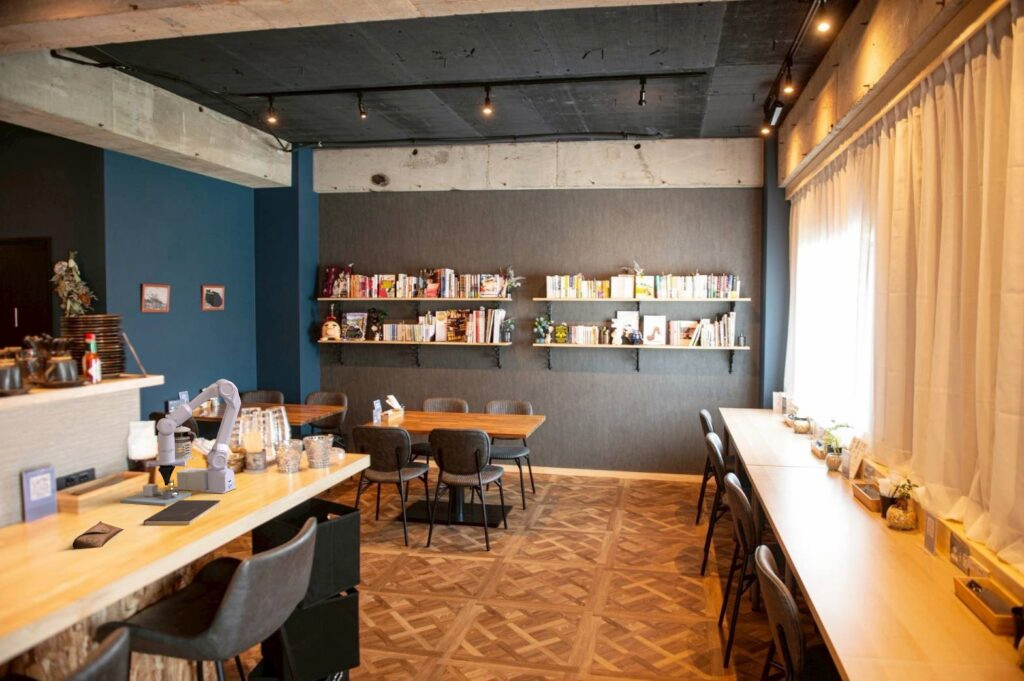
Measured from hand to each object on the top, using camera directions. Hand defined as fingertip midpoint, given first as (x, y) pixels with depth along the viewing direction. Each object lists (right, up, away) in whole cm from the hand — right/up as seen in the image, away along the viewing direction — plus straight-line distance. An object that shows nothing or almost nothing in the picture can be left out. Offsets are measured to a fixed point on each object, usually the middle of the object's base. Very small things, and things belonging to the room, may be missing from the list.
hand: (167, 485), depth 267 cm
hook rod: (-1, -4, -2) cm, 4 cm away
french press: (-25, -1, +68) cm, 73 cm away
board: (-3, -5, -1) cm, 6 cm away
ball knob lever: (+2, -1, -1) cm, 2 cm away
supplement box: (-1, 0, +15) cm, 15 cm away
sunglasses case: (+1, -8, -45) cm, 46 cm away
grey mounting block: (+3, -5, -3) cm, 6 cm away
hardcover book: (+16, -7, -21) cm, 27 cm away
